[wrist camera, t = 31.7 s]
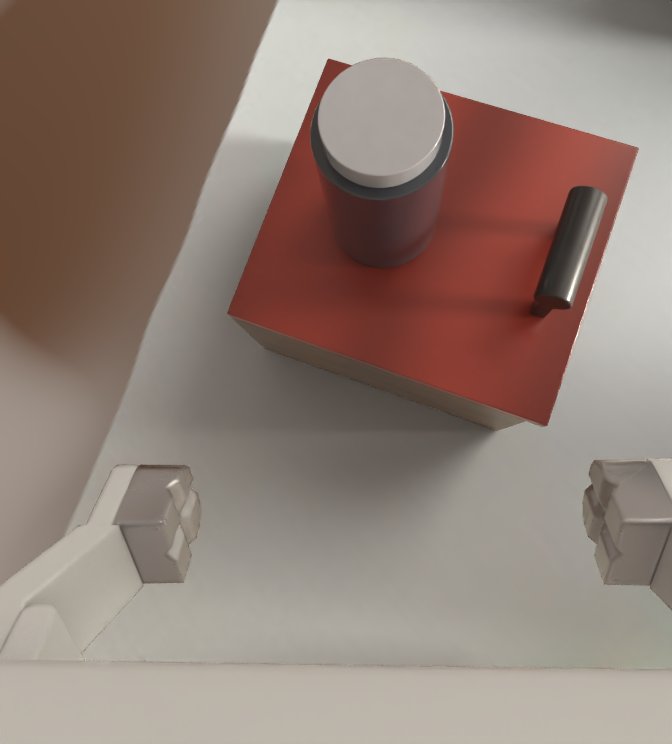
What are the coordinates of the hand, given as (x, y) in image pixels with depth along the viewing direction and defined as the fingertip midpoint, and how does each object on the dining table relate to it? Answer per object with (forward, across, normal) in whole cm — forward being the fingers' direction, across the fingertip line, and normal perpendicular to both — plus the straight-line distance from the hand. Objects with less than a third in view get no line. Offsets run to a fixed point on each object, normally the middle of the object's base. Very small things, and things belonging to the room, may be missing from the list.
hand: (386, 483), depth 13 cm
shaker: (+20, 0, +3) cm, 20 cm away
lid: (+20, -2, +4) cm, 21 cm away
